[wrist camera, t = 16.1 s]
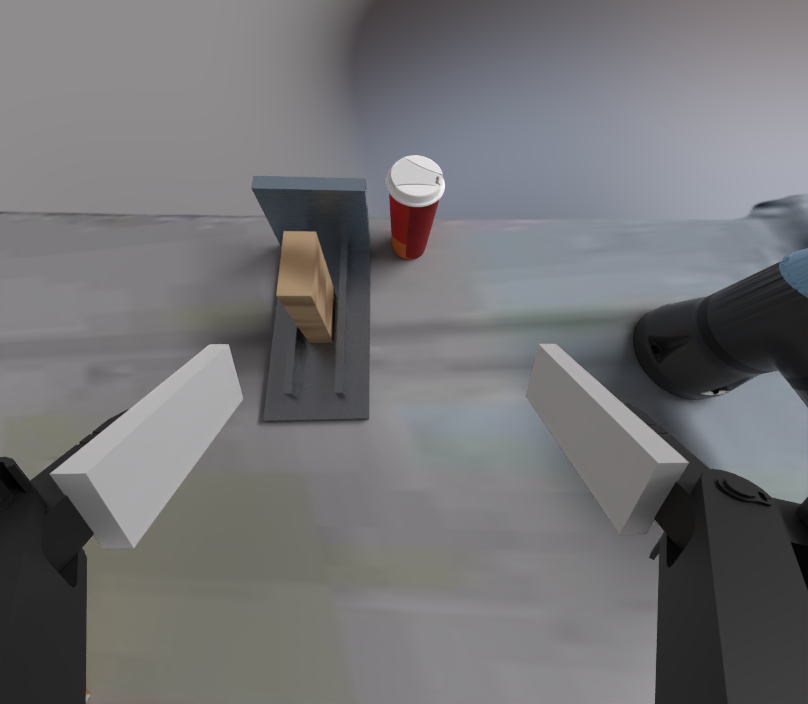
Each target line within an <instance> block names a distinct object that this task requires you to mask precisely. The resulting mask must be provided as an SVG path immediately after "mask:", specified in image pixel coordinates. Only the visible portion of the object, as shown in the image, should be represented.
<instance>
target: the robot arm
mask: <svg viewBox="0 0 808 704" xmlns="http://www.w3.org/2000/svg"><path fill="white" fill-rule="evenodd" d="M634 347H635V351H636V355H637V358H638V360H639V362H640V364H641V366H642V367H643V369H644V370H645V372H646V373H647V374H648V375H649V377H650V378H651V379H652V380H653V381H654V382H655V383H657V384H658V385H659V386H660V387H662V388H663V389H665V390H666V391H668V392H670V393H672V394H674V395H677V396H679V397H683V398H687V399H704V398H710V397H716V396H720V395H723V394H725V393H728V392H729V391H731V390H733V389H735V388H737V387H738V386H740V385H742V384H744V383H745V382H747V381H749V380H751V379H753V378H754V377H756V376H758V375H760V374H763V373H768V372H773V371H779V372H780V373H781V374H782V375H783V376H784V378H785V379H786V380H787V381H788V383H789V384H790V385H791V387H792V388H793V389H794V390H795V391H796V393H797V394H798V395H799V397H800V398H801V399H802V400H803V402H804V403H805V404H806V406H807V407H808V248H807V249H803V250H799V251H796V252H793V253H791V254H789V255H788V256H786V257H784V258H783V260H782V261H781V262H779V263H776V264H774V265H772V266H770V267H768V268H766V269H764V270H762V271H760V272H758V273H755V274H753V275H751V276H749V277H747V278H745V279H743V280H741V281H739V282H737V283H734V284H732V285H730V286H728V287H726V288H724V289H722V290H720V291H718V292H716V293H714V294H712V295H710V296H707V297H704V298H698V299H693V300H688V301H683V302H678V303H671V304H667V305H664V306H661V307H659V308H657V309H655V310H653V311H652V312H650V313H648V314H646V315H645V316H644V317H643V318H642V319H641V320H640V321H639V323H638V325H637V327H636V329H635V333H634ZM526 397H527V399H528V400H529V402H530V403H531V405H532V406H533V408H534V409H535V411H536V412H537V414H538V415H539V417H540V418H541V419H542V421H543V422H544V424H545V425H546V427H547V428H548V430H549V431H550V433H551V434H552V436H553V437H554V439H555V440H556V442H557V443H558V445H559V446H560V448H561V449H562V450H563V452H564V453H565V455H566V456H567V458H568V459H569V461H570V462H571V464H572V465H573V467H574V468H575V470H576V471H577V473H578V474H579V476H580V477H581V479H582V480H583V481H584V483H585V484H586V486H587V487H588V489H589V490H590V492H591V493H592V495H593V496H594V498H595V499H596V501H597V502H598V504H599V505H600V507H601V508H602V510H603V511H604V513H605V514H606V515H607V517H608V518H609V520H610V521H611V523H612V524H613V526H614V527H615V529H616V530H617V532H618V533H619V535H624V534H646V533H647V531H648V530H649V528H650V526H651V525H652V523H653V521H654V520H656V521H657V523H658V524H659V525H660V526H661V528H662V529H663V530H664V531H665V532H664V533H663V535H662V536H661V538H660V539H659V541H658V542H657V544H656V545H655V547H654V548H653V550H652V552H651V554H650V556H649V558H651V559H653V560H654V559H655V558H656V556H657V555H658V554H659V586H658V620H657V654H656V689H655V704H808V497H807V498H806V499H805V500H804V502H803V503H802V504H798V503H794V502H789V501H785V500H780V499H776V498H772V497H771V496H769V495H768V494H767V493H766V492H765V491H764V490H763V489H761V488H760V487H758V486H757V485H755V484H753V483H752V482H750V481H749V480H747V479H744V478H742V477H740V476H738V475H736V474H733V473H730V472H726V471H723V470H715V469H709V468H708V467H707V466H706V465H704V464H703V463H702V462H701V461H700V460H699V459H697V458H696V457H695V456H694V455H693V454H692V453H690V452H689V451H688V450H687V449H686V448H685V447H683V446H682V445H681V444H680V443H679V442H677V441H676V440H675V439H674V438H673V437H672V436H670V435H668V434H667V432H666V431H665V430H663V429H662V428H661V427H660V426H657V424H656V423H655V422H654V421H653V420H652V419H650V418H649V417H648V416H647V415H646V414H645V413H643V412H641V411H640V410H638V409H636V408H634V407H632V406H631V405H629V404H623V403H622V402H621V401H619V400H618V399H617V398H616V397H615V396H614V395H613V394H612V393H610V392H609V391H608V390H607V389H606V388H605V387H604V386H603V385H601V384H600V383H599V382H598V381H597V380H596V379H595V378H594V377H592V376H591V375H590V374H589V373H588V372H587V371H586V370H585V369H583V368H582V367H581V366H580V365H579V364H578V363H577V362H576V361H574V360H573V359H572V358H571V357H570V356H569V355H568V354H567V353H565V352H564V351H563V350H562V349H561V348H560V347H559V346H558V345H557V344H538V348H537V352H536V356H535V361H534V365H533V369H532V373H531V377H530V381H529V386H528V390H527V394H526ZM242 400H243V396H242V392H241V388H240V384H239V381H238V377H237V373H236V370H235V366H234V362H233V359H232V355H231V351H230V347H229V344H209V345H208V346H207V347H206V348H204V349H203V350H202V351H201V352H200V353H198V354H197V355H196V356H195V357H193V358H192V359H191V360H190V361H188V362H187V363H186V364H185V365H183V366H182V367H181V368H180V369H179V370H177V371H176V372H175V373H174V374H172V375H171V376H170V377H169V378H167V379H166V380H165V381H164V382H163V383H161V384H160V385H159V386H158V387H156V388H155V389H154V390H153V391H151V392H150V393H149V394H148V395H146V396H145V397H144V398H143V399H142V400H140V401H139V402H138V403H137V404H135V405H134V406H133V407H132V408H130V409H128V410H126V411H124V412H122V413H120V414H118V415H116V416H114V417H112V418H110V419H109V420H107V421H106V422H105V423H103V424H102V425H101V426H99V427H98V428H97V429H96V430H94V431H93V433H92V434H89V435H88V436H87V437H85V438H84V439H83V440H82V441H80V444H79V445H75V446H74V447H73V448H71V449H70V450H69V451H68V452H66V453H65V454H64V455H63V456H61V457H60V458H59V459H57V460H56V461H55V462H54V463H52V464H51V465H50V466H49V467H47V468H46V469H45V470H43V471H42V472H41V473H40V474H38V475H37V476H36V477H35V478H33V479H32V480H31V481H30V480H29V479H28V478H27V477H26V475H25V474H24V473H23V471H22V470H21V469H20V468H19V466H18V465H17V464H16V462H15V461H14V460H13V459H11V458H7V457H0V704H86V608H87V557H86V554H85V552H84V550H83V549H82V547H83V546H84V545H85V544H86V542H87V541H88V540H89V539H90V538H91V537H92V536H93V535H94V537H95V538H96V539H97V541H98V542H99V543H100V545H101V546H102V548H103V549H121V548H134V547H135V546H136V545H137V543H138V542H139V540H140V539H141V538H142V536H143V535H144V534H145V532H146V531H147V530H148V528H149V527H150V525H151V524H152V523H153V521H154V520H155V519H156V517H157V516H158V515H159V513H160V512H161V510H162V509H163V508H164V506H165V505H166V504H167V502H168V501H169V500H170V498H171V497H172V495H173V494H174V493H175V491H176V490H177V489H178V487H179V486H180V485H181V483H182V482H183V480H184V479H185V478H186V476H187V475H188V474H189V472H190V471H191V470H192V468H193V467H194V465H195V464H196V463H197V461H198V460H199V459H200V457H201V456H202V455H203V453H204V452H205V450H206V449H207V448H208V446H209V445H210V444H211V442H212V441H213V440H214V438H215V437H216V435H217V434H218V433H219V431H220V430H221V429H222V427H223V426H224V425H225V423H226V422H227V420H228V419H229V418H230V416H231V415H232V414H233V412H234V411H235V410H236V408H237V407H238V405H239V404H240V403H241V401H242Z"/></svg>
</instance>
